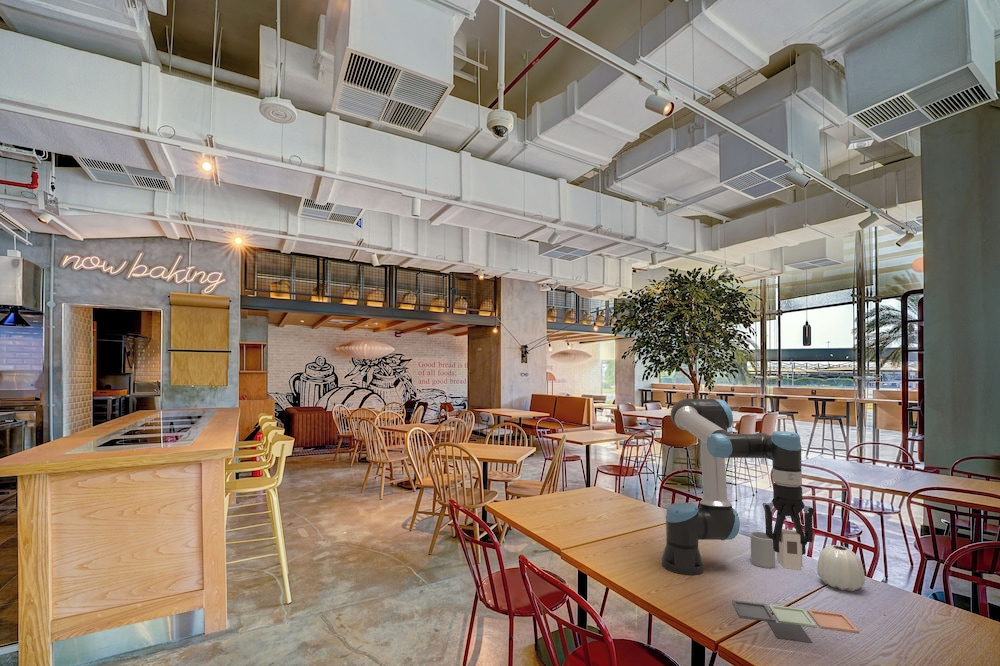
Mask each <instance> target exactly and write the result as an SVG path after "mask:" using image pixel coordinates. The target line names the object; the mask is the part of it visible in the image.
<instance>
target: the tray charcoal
mask: <svg viewBox="0 0 1000 666" xmlns="http://www.w3.org/2000/svg"><path fill="white" fill-rule="evenodd" d="M731 603H732V605H733V607H734V609H735V611H736V613H737V615H738V616H739V618H740V619H747V620H753V621H754V620H755V621H763V622H767V621H770V622H777V619H776V617H775V616H774V614H773V612H772V611H771V609H770V608H769V606H767V604H765V603H759V602H751V601H742V600H736V599H735V600H734V599H732V600H731Z"/></svg>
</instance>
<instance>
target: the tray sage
mask: <svg viewBox="0 0 1000 666" xmlns="http://www.w3.org/2000/svg"><path fill="white" fill-rule="evenodd" d="M768 608H769V610H770V611H771V613H772V615H773V616H774V618H775V619H776V621H778V623H785V624H793V625H800V626H801V627H806V628H816V629H817V628H818V627H817V626H818V624H817V623H816V622H815V621H814V619H813V618H812V617H811V616H810V614H809V613H808V612H807V611H806V610H805V609H804V608H801V607H800V608H799V607H790V606H782V605H775V604H768Z"/></svg>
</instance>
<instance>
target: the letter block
mask: <svg viewBox="0 0 1000 666" xmlns="http://www.w3.org/2000/svg"><path fill="white" fill-rule="evenodd" d="M780 541H781V542H782V546H783V565H780V566H781V567H782V568H783V569H784V570H794V571H802V567H801V546H800V534H798V533H797V532H796V529H788V528H787V529H785V528H784V529H783V528H782V531H781V536H780Z"/></svg>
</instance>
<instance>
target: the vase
mask: <svg viewBox="0 0 1000 666" xmlns="http://www.w3.org/2000/svg"><path fill="white" fill-rule="evenodd" d="M817 559H818V560H817V565H816V566H817V568H816V571H817V575H818V577H820V579H821V581H823V582H824V584H826V585H827V586H831V588H834V589H838V590H840V591H848V592H853V591H858V590H860V589H861V588H862V587H863V586H864V585H865V583H866V576H865V570H864V567H863V566H864V565H863V563H862V560H861V558H859V556H858V555H857V554H856V553H855V552H854V551H852V550H851V549H849V548H848V547H846V546H842V545H837V544H836V545H834V544H832V545H828V546H826V547H824V548H822V549H821V551H820V553H819V557H818V558H817Z"/></svg>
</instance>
